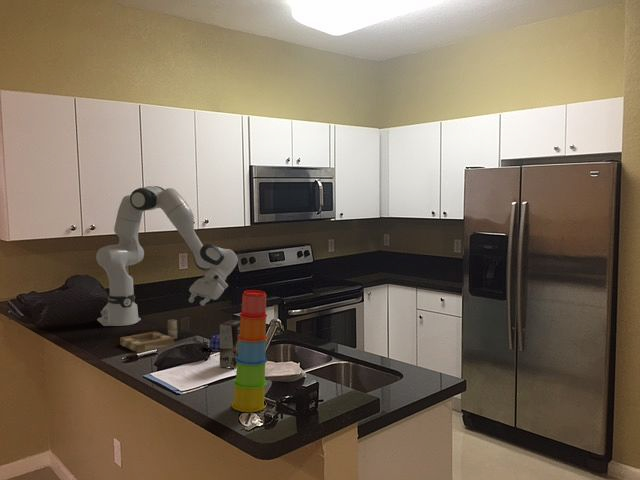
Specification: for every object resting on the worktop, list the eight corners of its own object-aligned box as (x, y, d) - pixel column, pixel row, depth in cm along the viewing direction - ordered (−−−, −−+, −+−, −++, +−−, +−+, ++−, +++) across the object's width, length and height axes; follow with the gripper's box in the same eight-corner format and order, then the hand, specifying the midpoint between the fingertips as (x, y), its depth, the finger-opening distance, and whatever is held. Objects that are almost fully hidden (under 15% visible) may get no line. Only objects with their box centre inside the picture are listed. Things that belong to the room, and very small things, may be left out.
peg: (166, 338, 235) (165, 320, 235) (174, 336, 238) (174, 319, 238) (170, 340, 233) (170, 322, 232) (179, 338, 235) (178, 320, 235)
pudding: (238, 346, 225) (238, 333, 225) (224, 353, 214) (224, 341, 213) (212, 343, 229) (212, 331, 228) (198, 351, 217) (197, 338, 217)
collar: (120, 344, 225) (120, 337, 225) (155, 337, 236) (155, 331, 236) (138, 352, 213) (137, 345, 213) (174, 345, 225) (173, 338, 225)
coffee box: (234, 369, 193) (234, 325, 192) (219, 367, 195) (218, 324, 194) (246, 362, 202) (246, 320, 201) (231, 360, 204) (230, 318, 203)
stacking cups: (250, 397, 166) (250, 287, 164) (273, 405, 160) (273, 291, 157) (224, 406, 159) (224, 291, 156) (247, 416, 152) (247, 295, 149)
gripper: (197, 273, 254) (179, 295, 248) (222, 277, 240) (203, 302, 234) (205, 281, 258) (187, 304, 252) (230, 286, 243) (212, 310, 237)
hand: (195, 303), depth 243 cm, fingers open, 8 cm apart
